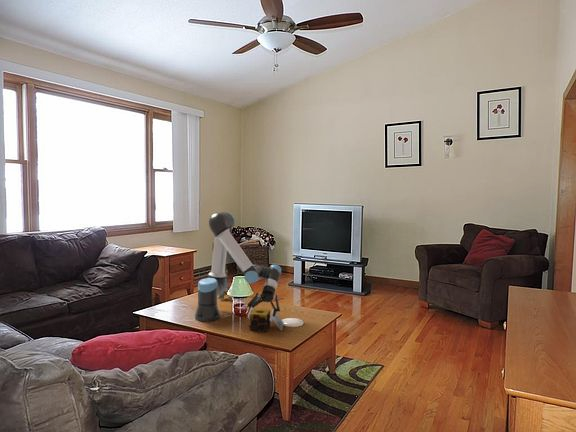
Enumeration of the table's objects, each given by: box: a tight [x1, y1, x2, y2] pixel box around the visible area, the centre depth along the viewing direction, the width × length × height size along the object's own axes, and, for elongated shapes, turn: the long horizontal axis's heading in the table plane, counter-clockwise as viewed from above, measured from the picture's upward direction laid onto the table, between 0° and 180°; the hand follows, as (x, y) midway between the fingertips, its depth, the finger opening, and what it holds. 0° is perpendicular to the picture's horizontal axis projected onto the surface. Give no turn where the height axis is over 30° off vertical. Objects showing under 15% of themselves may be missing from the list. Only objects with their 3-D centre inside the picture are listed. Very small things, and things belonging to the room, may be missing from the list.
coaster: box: [281, 317, 305, 328], centre depth 240 cm, size 14×14×1 cm
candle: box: [249, 308, 271, 333], centre depth 229 cm, size 10×10×10 cm
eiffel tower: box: [217, 264, 233, 303], centre depth 286 cm, size 11×11×25 cm
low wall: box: [272, 313, 284, 331], centre depth 236 cm, size 1×18×5 cm, turn 16°
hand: (259, 319), depth 231 cm, fingers open, 13 cm apart
